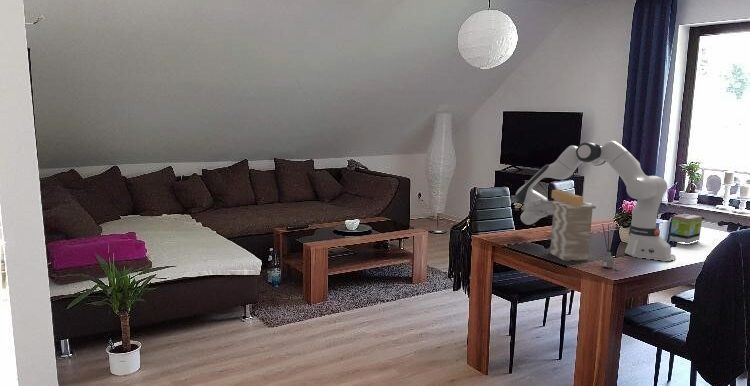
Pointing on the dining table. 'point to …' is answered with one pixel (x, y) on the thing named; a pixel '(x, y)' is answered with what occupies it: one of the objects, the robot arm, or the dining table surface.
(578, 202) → the ochre bar
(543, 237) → the dining table surface
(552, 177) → the robot arm
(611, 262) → the reed diffuser
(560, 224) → the birch pedestal
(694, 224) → the tea box
